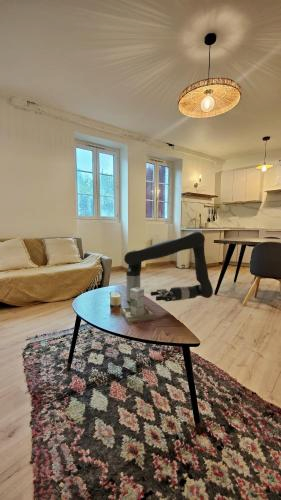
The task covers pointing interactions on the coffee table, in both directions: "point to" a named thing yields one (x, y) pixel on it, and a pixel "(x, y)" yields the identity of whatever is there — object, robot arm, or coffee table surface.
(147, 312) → the wooden tray
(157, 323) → the coffee table surface
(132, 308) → the syrup box
